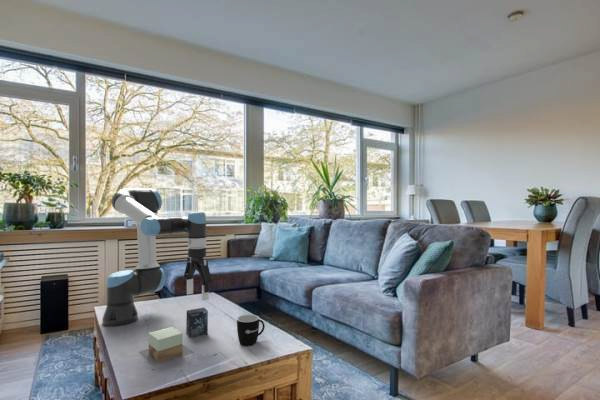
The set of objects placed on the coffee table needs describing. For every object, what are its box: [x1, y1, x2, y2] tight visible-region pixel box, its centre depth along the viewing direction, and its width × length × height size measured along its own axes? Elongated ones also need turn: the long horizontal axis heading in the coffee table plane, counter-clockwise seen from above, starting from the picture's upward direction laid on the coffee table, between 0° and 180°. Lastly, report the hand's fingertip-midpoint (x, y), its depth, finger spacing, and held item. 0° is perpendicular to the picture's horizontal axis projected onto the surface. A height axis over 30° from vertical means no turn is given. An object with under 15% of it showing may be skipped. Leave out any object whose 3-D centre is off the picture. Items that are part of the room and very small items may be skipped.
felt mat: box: [138, 344, 194, 366], centre depth 127 cm, size 15×15×1 cm
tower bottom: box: [148, 343, 184, 363], centre depth 125 cm, size 9×9×4 cm
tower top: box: [148, 326, 184, 351], centre depth 125 cm, size 9×9×4 cm
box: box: [185, 307, 209, 339], centre depth 145 cm, size 8×6×11 cm
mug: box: [236, 314, 266, 347], centre depth 137 cm, size 12×9×10 cm
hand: (197, 296), depth 145 cm, fingers open, 13 cm apart
